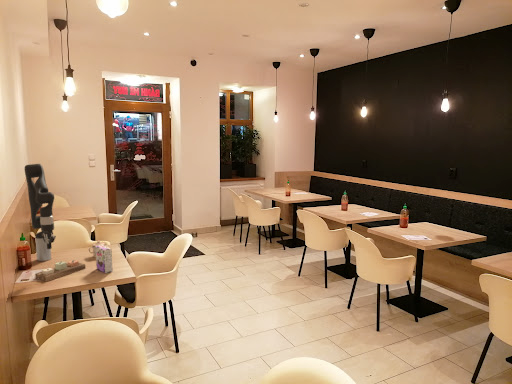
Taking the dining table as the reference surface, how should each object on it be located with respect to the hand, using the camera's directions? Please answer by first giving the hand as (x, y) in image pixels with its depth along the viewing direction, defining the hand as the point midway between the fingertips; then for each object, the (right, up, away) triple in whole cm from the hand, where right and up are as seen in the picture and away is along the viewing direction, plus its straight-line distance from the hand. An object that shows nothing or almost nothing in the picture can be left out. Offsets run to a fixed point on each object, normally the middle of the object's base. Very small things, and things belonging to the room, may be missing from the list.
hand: (49, 248), depth 251 cm
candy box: (+32, -17, +12) cm, 38 cm away
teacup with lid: (+13, -12, +44) cm, 48 cm away
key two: (+4, -15, +6) cm, 17 cm away
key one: (0, -17, -1) cm, 18 cm away
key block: (+4, -17, +7) cm, 19 cm away
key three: (+9, -15, +14) cm, 23 cm away
